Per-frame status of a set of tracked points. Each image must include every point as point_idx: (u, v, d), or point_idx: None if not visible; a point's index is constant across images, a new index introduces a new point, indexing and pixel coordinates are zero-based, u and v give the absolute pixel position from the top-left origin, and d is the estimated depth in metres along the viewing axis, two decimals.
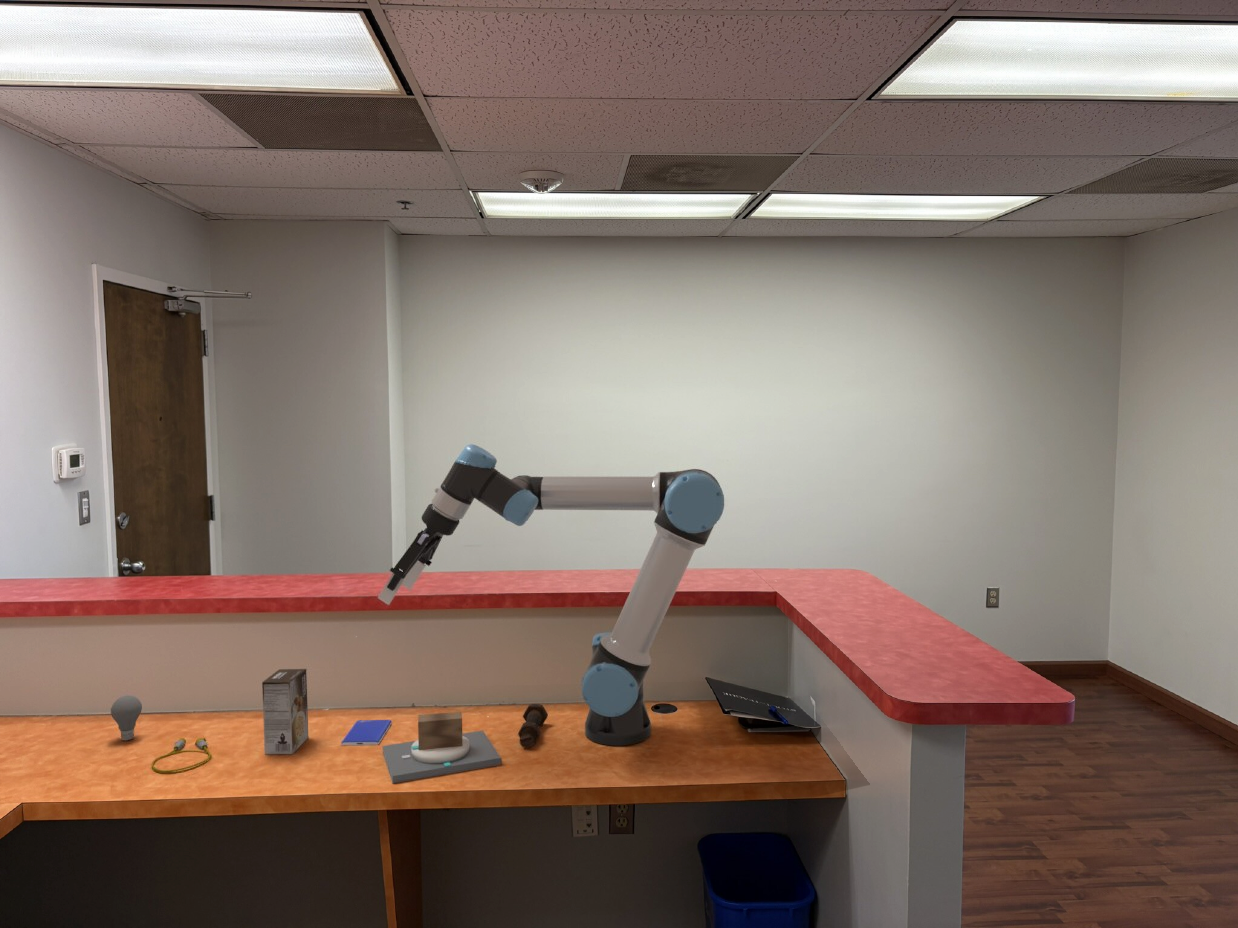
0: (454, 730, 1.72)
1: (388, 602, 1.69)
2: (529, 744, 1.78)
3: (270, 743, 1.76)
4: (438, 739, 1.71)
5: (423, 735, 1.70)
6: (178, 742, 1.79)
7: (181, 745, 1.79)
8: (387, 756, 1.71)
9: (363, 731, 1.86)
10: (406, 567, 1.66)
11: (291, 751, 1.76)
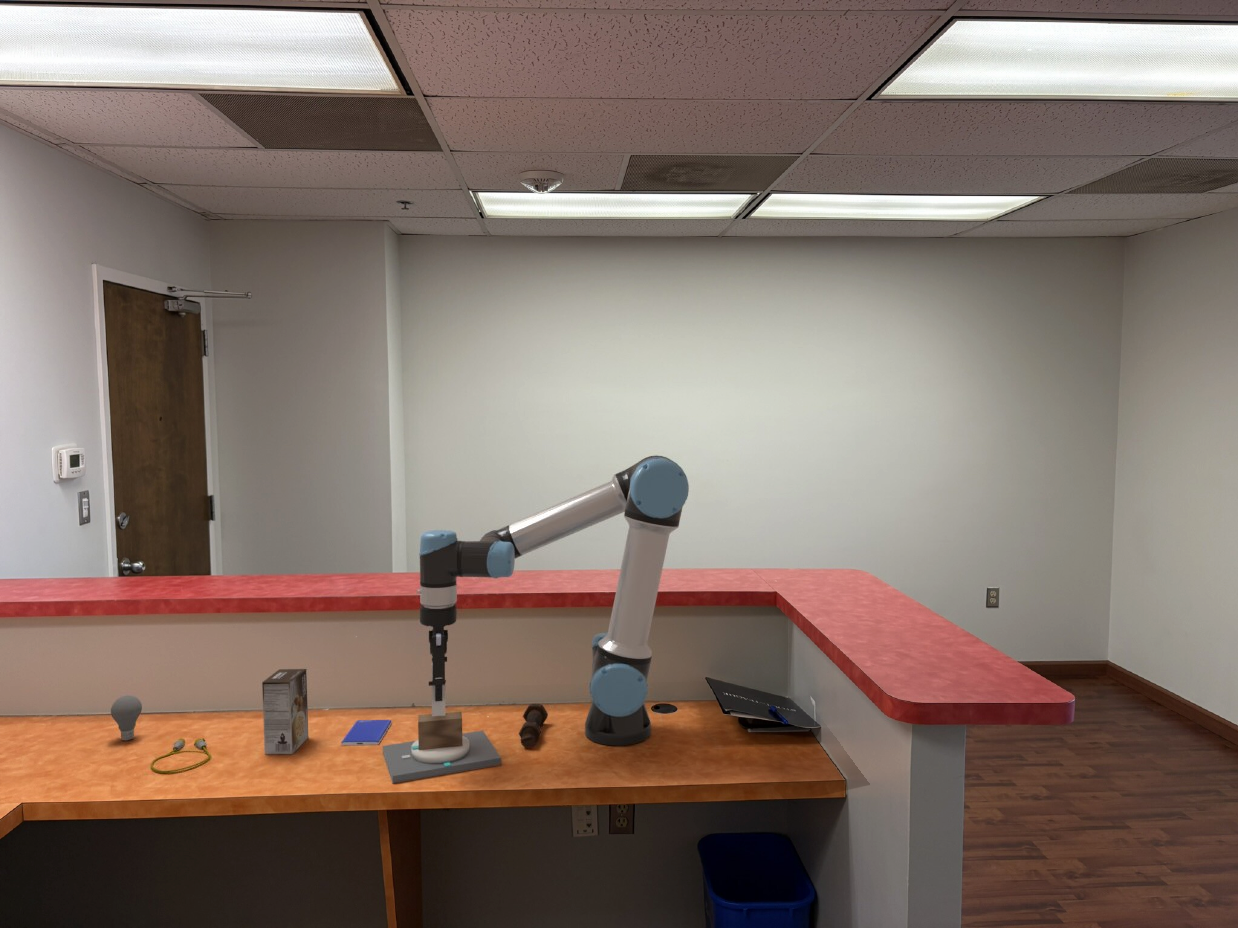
0: (454, 730, 1.72)
1: (444, 713, 1.66)
2: (530, 744, 1.78)
3: (270, 743, 1.76)
4: (438, 739, 1.71)
5: (423, 735, 1.70)
6: (177, 742, 1.79)
7: (180, 745, 1.79)
8: (387, 756, 1.71)
9: (363, 731, 1.86)
10: (443, 672, 1.63)
11: (291, 751, 1.76)
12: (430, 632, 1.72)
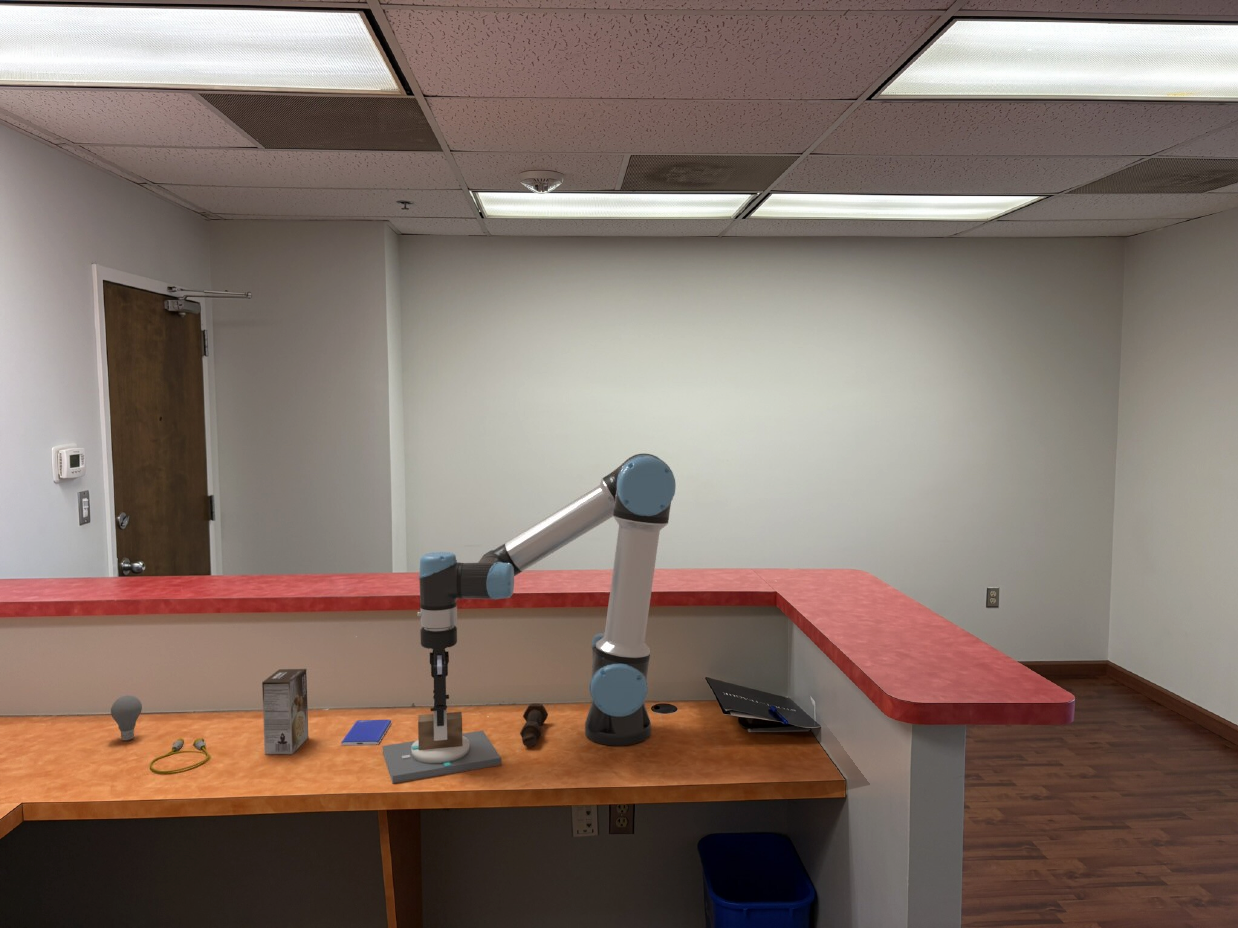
0: (454, 730, 1.72)
1: (445, 737, 1.71)
2: (532, 743, 1.78)
3: (270, 743, 1.76)
4: None
5: (423, 735, 1.70)
6: (176, 742, 1.79)
7: (179, 745, 1.79)
8: (387, 756, 1.71)
9: (363, 731, 1.86)
10: (444, 700, 1.67)
11: (291, 751, 1.76)
12: (431, 653, 1.73)
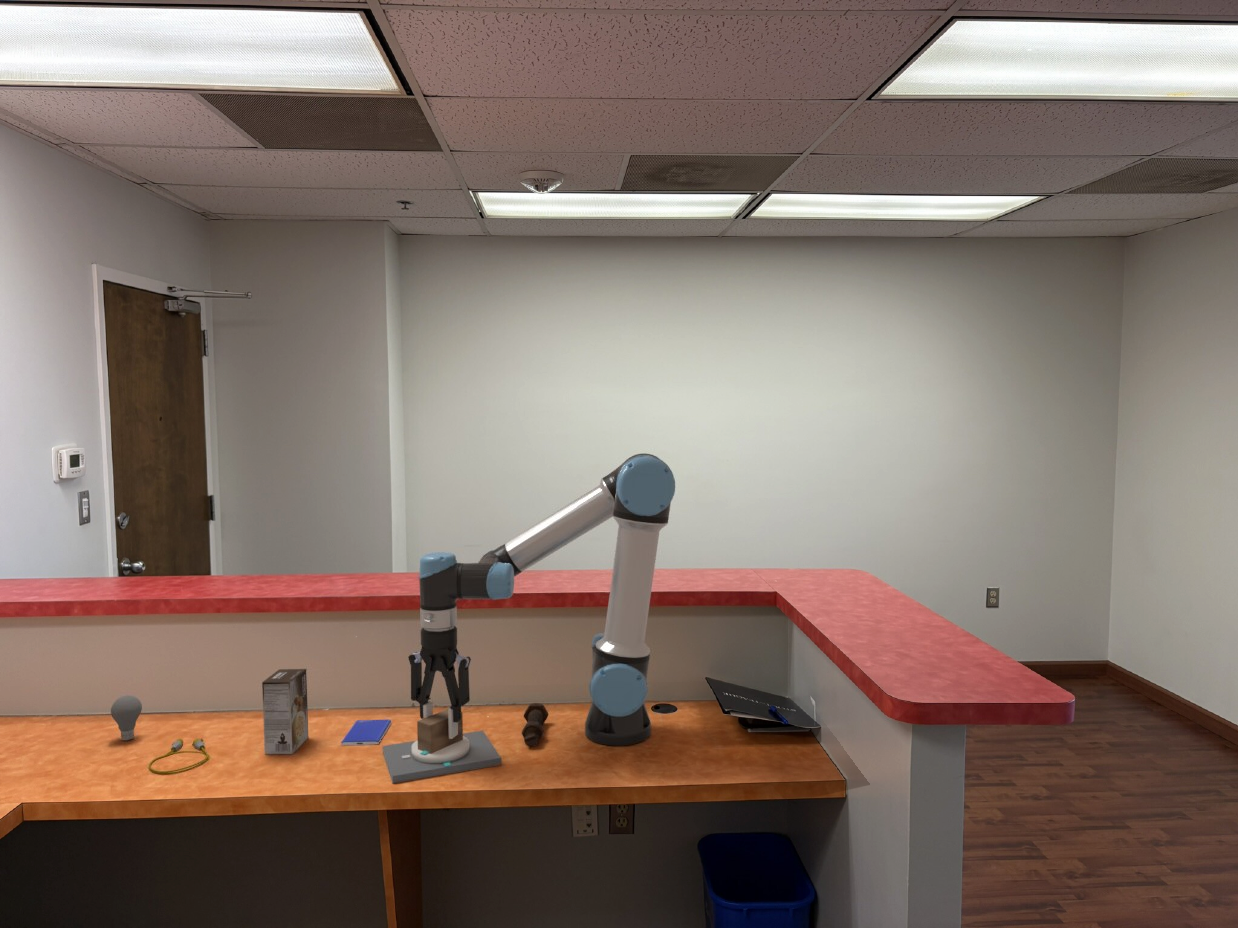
0: None
1: (457, 732, 1.73)
2: (534, 743, 1.78)
3: (270, 743, 1.76)
4: (445, 738, 1.72)
5: (434, 737, 1.69)
6: (175, 743, 1.79)
7: (178, 746, 1.78)
8: (387, 756, 1.71)
9: (363, 731, 1.86)
10: (468, 692, 1.72)
11: (291, 751, 1.76)
12: (431, 656, 1.71)
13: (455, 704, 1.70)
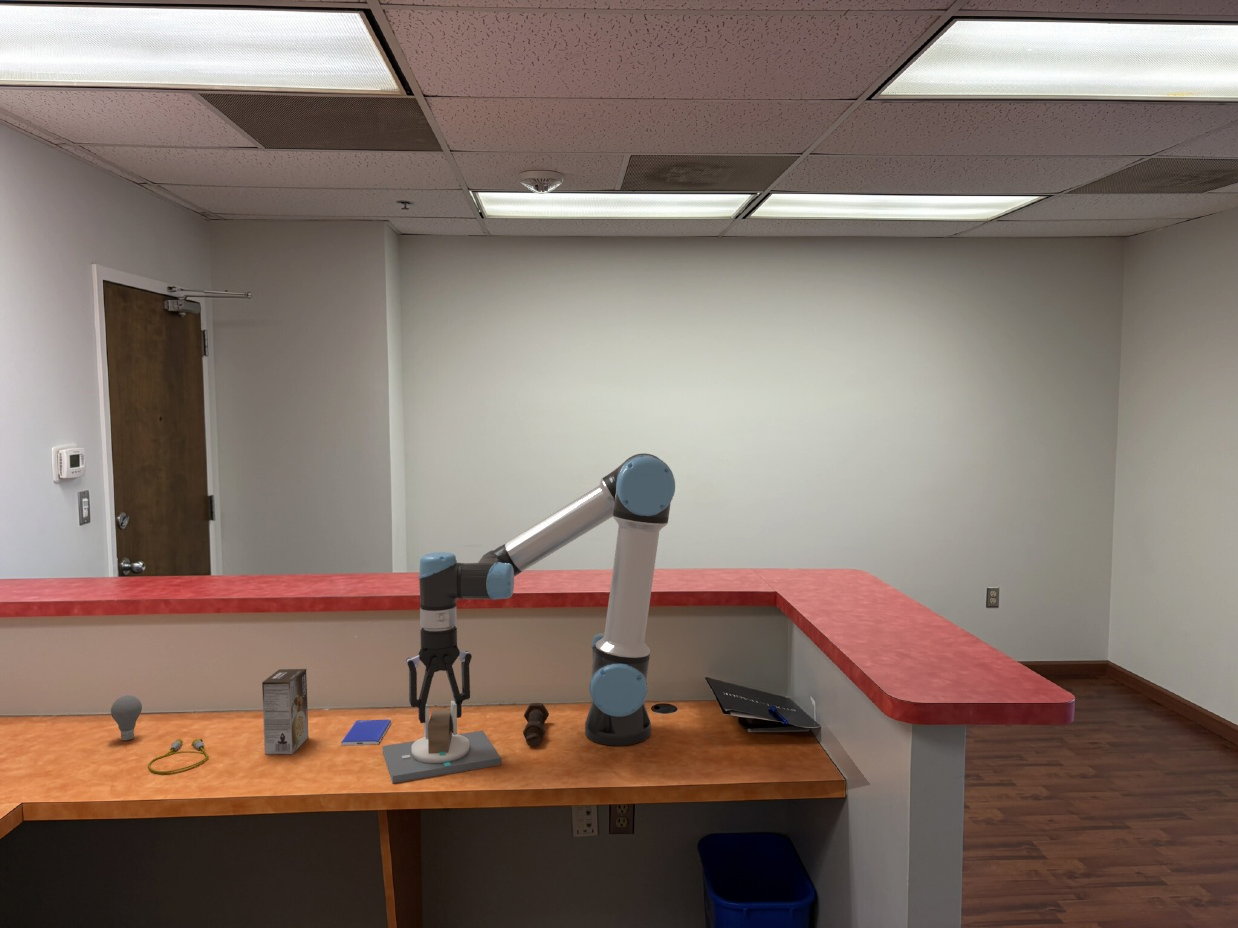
0: None
1: None
2: (535, 743, 1.79)
3: (270, 743, 1.76)
4: None
5: (448, 736, 1.70)
6: (175, 743, 1.79)
7: (178, 746, 1.78)
8: (387, 756, 1.71)
9: (363, 731, 1.86)
10: None
11: (291, 751, 1.76)
12: (435, 657, 1.70)
13: (460, 699, 1.73)
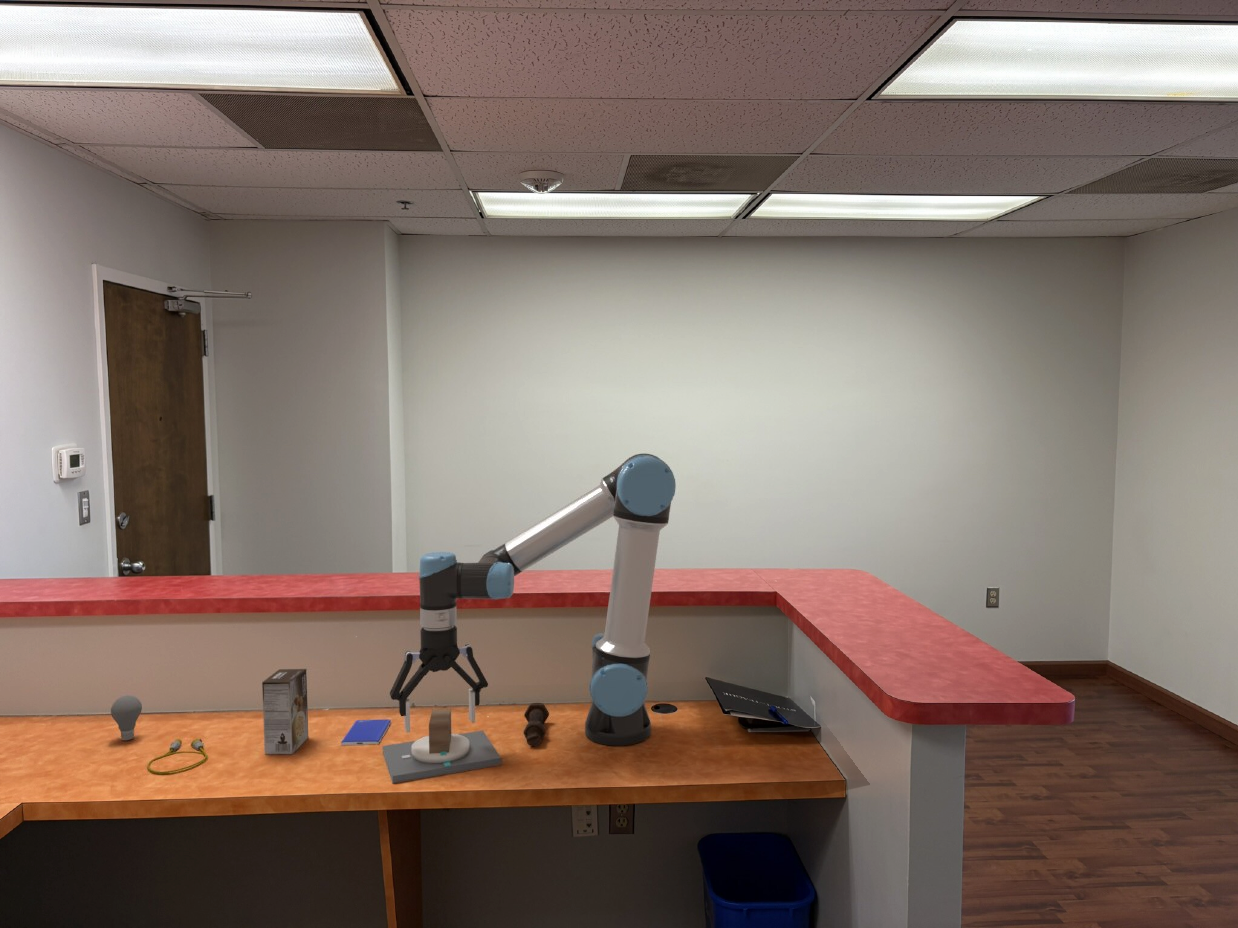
0: None
1: None
2: (536, 743, 1.79)
3: (270, 743, 1.76)
4: None
5: None
6: (174, 743, 1.78)
7: (177, 746, 1.78)
8: (387, 756, 1.71)
9: (362, 731, 1.86)
10: None
11: (291, 751, 1.76)
12: (436, 657, 1.70)
13: (478, 687, 1.75)
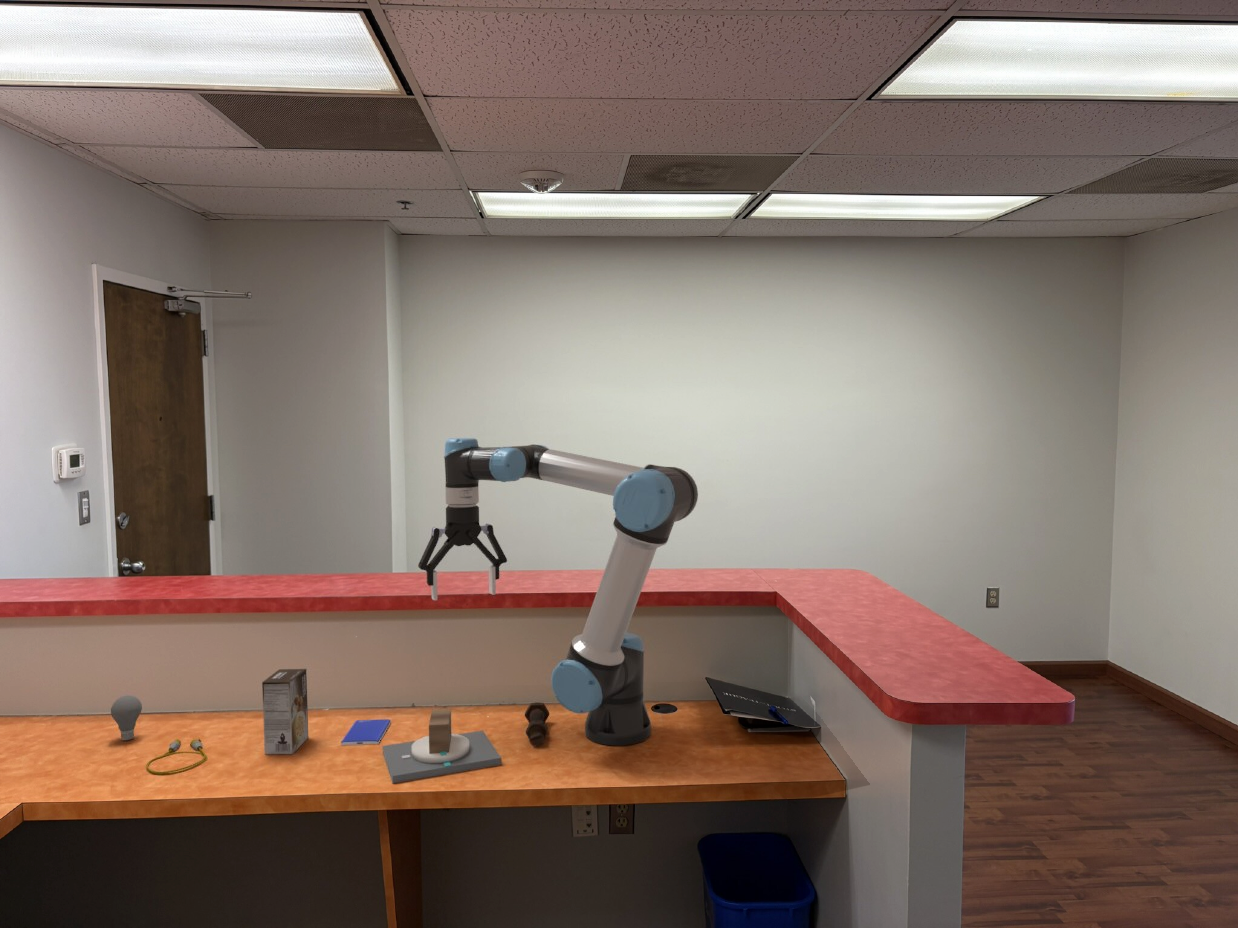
0: None
1: None
2: (539, 742, 1.79)
3: (270, 743, 1.76)
4: None
5: None
6: (173, 743, 1.78)
7: (176, 746, 1.78)
8: (387, 756, 1.71)
9: (362, 731, 1.86)
10: None
11: (291, 751, 1.76)
12: (461, 532, 1.87)
13: (498, 562, 1.91)
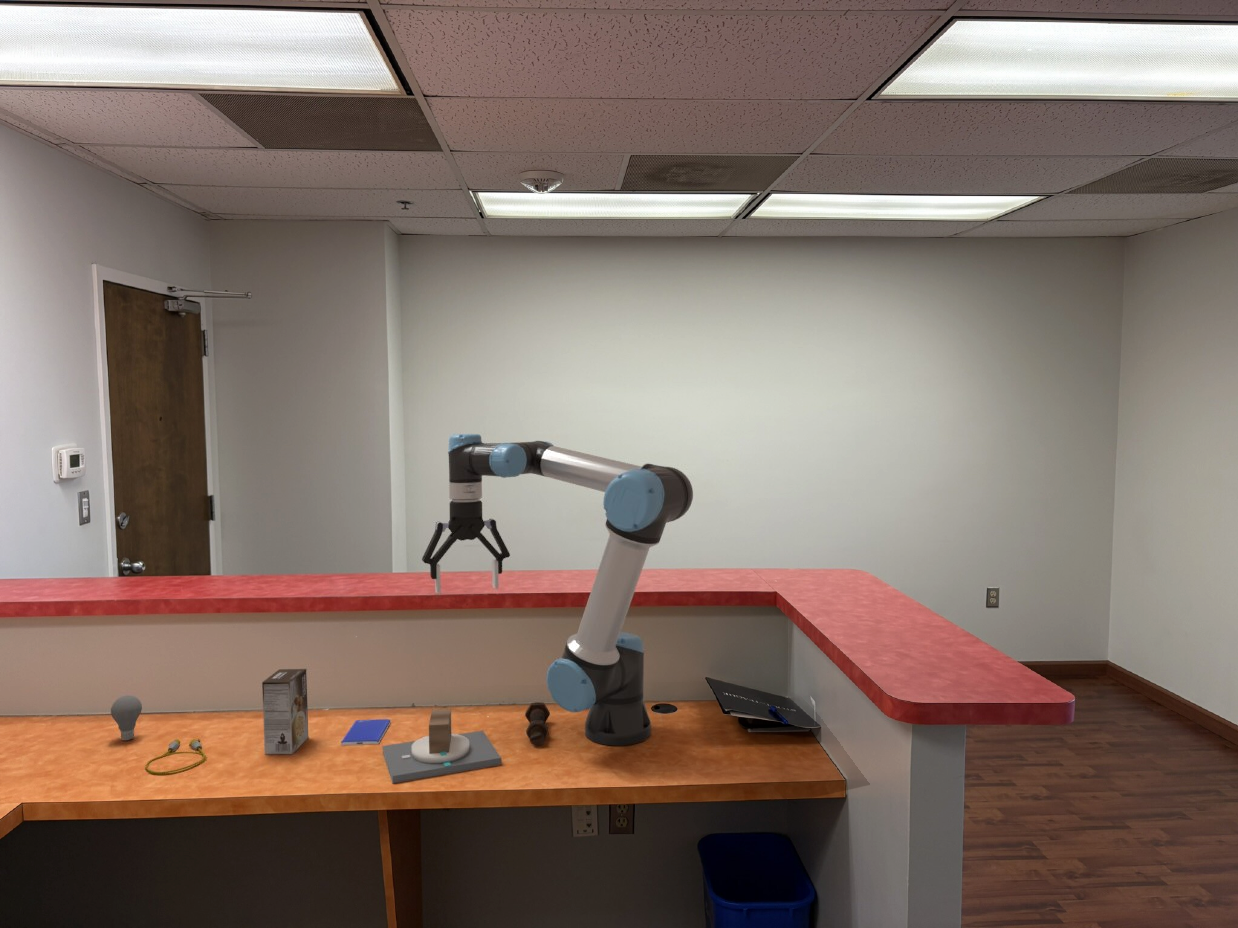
0: None
1: None
2: (540, 742, 1.79)
3: (270, 743, 1.76)
4: None
5: None
6: (172, 743, 1.78)
7: (175, 746, 1.78)
8: (387, 756, 1.71)
9: (362, 731, 1.86)
10: None
11: (291, 751, 1.76)
12: (464, 527, 1.89)
13: (501, 556, 1.93)
